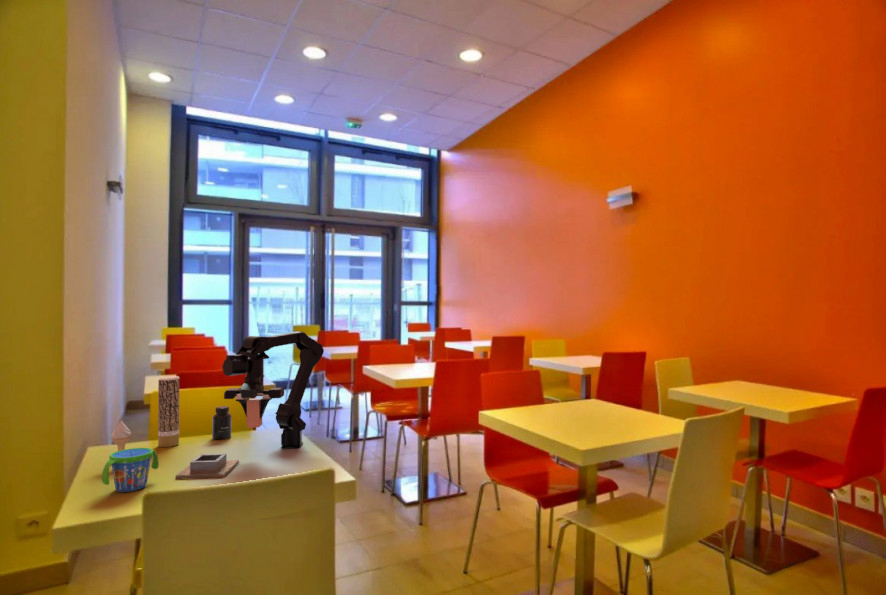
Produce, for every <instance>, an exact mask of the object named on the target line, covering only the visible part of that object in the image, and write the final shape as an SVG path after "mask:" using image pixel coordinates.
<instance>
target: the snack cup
mask: <svg viewBox="0 0 886 595" xmlns="http://www.w3.org/2000/svg"><path fill="white" fill-rule="evenodd" d="M151 459H152V462H151ZM159 463H160V462H159V457H158V454H157V452H156V451H155V450H153V449H152V448H150V447H149V448H148V447H134V448H127V449H124V450H121V451H118V450H117V451H114V452H112V453H111V454H110V455H109V459H108V460H107V461H106V463H105V465H104V467H103V470H102V473H101V483H102V484H104V485H106V486H108V485H110V479H109V478H110V468H111V470H112V476H113V483H114V488H115V490H116V491H117V492H118V493H128V492H129V493H130V492H135V491H139V490H140V489H143V488H146V487H147V483H148V481H149V480H148V478H149V474H150V473H149V472H150V468H152V469H153V470H157V469H158V468H159V466H160V464H159ZM150 464H151V465H150ZM145 486H146V487H145Z"/></svg>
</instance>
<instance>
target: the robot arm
mask: <svg viewBox="0 0 886 595" xmlns="http://www.w3.org/2000/svg"><path fill="white" fill-rule="evenodd" d="M242 342H243V343H242V345H241V346H240V347H239V349H238V351H237V353H236V354H227V355H225V357H226V358H225V359H224V361H223V364H222V371H223V374H224V375H225V376H226V377H233V376H240V375H245V377H244V382H243V384H242V385H241V386H240V387H231V388H228V389H226V390H225V391H224V393H223V399H224V400H234V398H235V402H239V404H240V405H241V408H242V409H243V411H244V414H245V416H246V418H247V400H249V399H256V398H257V397H262V399H261V400H260V401H261V408H260V419H261V418H262V419H263V417H264V414H265V410H266V409H267V406H268V404H269V402H270V401H271V400H272V399H282V398H283V397H284V396H285V388H284V387H272V388H269V389H268V390H266V389H265V386H264V384H265V383H264V382H265V380H264V378H265V374H264V363H265V362H264V360H268V359H270V356H269V355H267V353H266V352H267V351H269V350H271V349H273V348H275V347H280V346H287V345H291V344H295V347H296V349H298V350H299V362H300V363H299V367H298V370H297V372H296V375H295V377H294V380H293V383H292V386H291V389H290V392H289V394H288V397H287V399H286V400H285V401H284V403H279V404H278V406H277V411H276V412H275V420H276V423H277V424H278V427H279V429H282V433H281V434H280V438H281V439H280V445H281V449H299V448H301V447H302V445H303V444H304V442H303V439H302V438H303V430H304V431H305V429H306V427H307V424H306V422H305V421H304V420H303V419H302V418H301V416H302V407H301V403H302V400H303V397H304V394H305V392H306V388H307V385H308V383H309V381H310V377H311V375H312V371H313V369H314V368H315V366H316V365H317V364H318V363H319V362H320V361H321V359H322V357H323V355H324V352H325V351H324V350H325V349H324V347H323V345H322V344H321V343H319V342H318V341H317V340H316V339H315V340H314V339H313V338H312V337H311V336H308V334H307V333H305V332H304V331H293V332H289V333H282V334H276V335H269V336H262V335H257V336H256V335H249V336H246V337H245V338H244V340H243V341H242Z"/></svg>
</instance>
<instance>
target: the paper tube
mask: <svg viewBox="0 0 886 595" xmlns="http://www.w3.org/2000/svg"><path fill="white" fill-rule="evenodd" d="M157 381H158V394H157V396H158V398H157V399H158V400H157V404H158V409H157V410H158V412H157V415H158V418H157V419H158V420H157V425H158V426H157V427H158V430H157V433H158V434H157V437H158V438H157V439H158V440H157V441H158V442H157V445H158V447H160V448H170V447H175V446H177V445H179V443H180V376H179V375H178V376H175V375H171V376H162V377H158V380H157Z"/></svg>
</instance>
